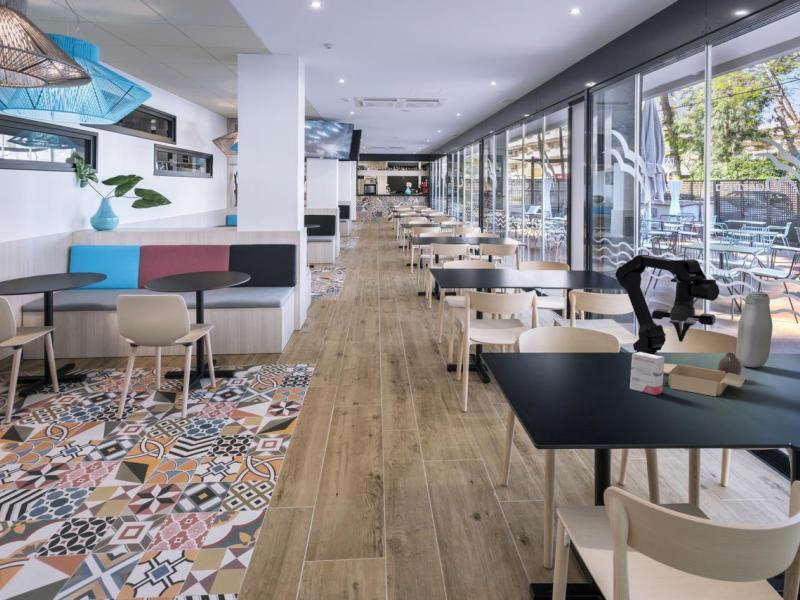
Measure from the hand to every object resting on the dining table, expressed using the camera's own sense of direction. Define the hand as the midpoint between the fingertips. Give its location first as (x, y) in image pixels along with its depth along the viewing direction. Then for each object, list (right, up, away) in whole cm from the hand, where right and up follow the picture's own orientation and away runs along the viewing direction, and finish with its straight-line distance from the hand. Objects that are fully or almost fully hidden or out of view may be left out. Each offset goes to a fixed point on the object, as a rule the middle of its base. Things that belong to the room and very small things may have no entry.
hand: (680, 341), depth 188 cm
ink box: (-18, -15, -13) cm, 27 cm away
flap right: (+7, -10, -13) cm, 18 cm away
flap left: (-4, -9, -4) cm, 11 cm away
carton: (+1, -14, -8) cm, 16 cm away
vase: (+17, -13, 0) cm, 21 cm away
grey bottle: (+33, -11, +14) cm, 38 cm away
